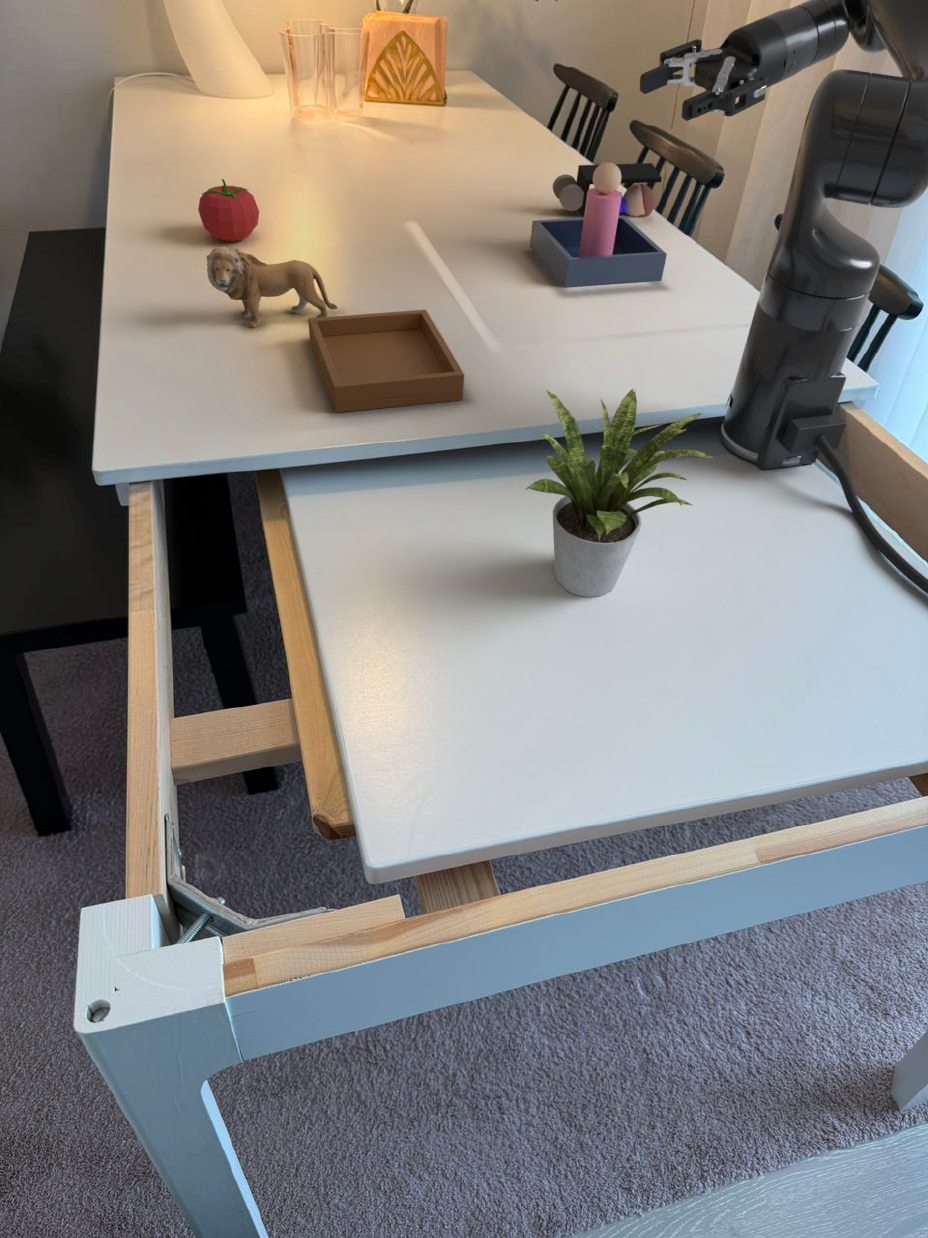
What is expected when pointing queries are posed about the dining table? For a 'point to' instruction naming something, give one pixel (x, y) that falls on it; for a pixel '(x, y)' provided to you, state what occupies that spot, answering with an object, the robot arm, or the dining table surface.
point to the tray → (384, 360)
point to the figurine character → (634, 200)
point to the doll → (601, 212)
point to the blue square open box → (627, 263)
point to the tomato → (228, 212)
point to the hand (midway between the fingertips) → (662, 97)
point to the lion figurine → (263, 281)
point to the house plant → (603, 496)
